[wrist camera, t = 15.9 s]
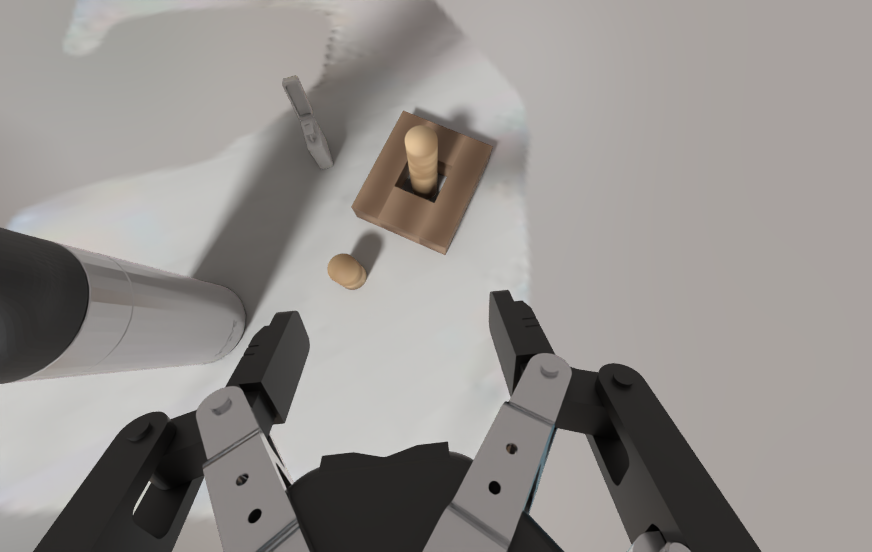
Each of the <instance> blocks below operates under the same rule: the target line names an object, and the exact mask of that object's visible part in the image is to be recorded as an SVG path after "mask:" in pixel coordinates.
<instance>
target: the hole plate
mask: <svg viewBox="0 0 872 552" xmlns="http://www.w3.org/2000/svg"><path fill="white" fill-rule="evenodd" d="M419 125H423V126H428V127H430V128H431V129H433V130H434V131H435V133H436V135H437V138H438V162H437V173H439V174H441V175H444V176H446V177H447V178H446V181H445V183H444V185H443V187H442V189H441V191H440V193H439V195H438V197H437V199H436V201H435V203H433V202H430V201H428V200H426V199H423V198H421V197H419V196H416V195H414V194H411V193H409V192H407V191H404V190H402V187H403V185H404V183H405V181H406V179H407V177H408V175H409V173H410V172H409V166H408V159H407V153H406V146H405V136H406V134H407V132H408V131H409V130H410V129H411V128H413V127H415V126H419ZM492 148H493V146H490V145H488V144H485V143H483V142H480V141H478V140H475V139H473V138H470V137H468V136H465V135H463V134H460V133H458V132H455V131H453V130H450V129H448V128H445V127H443V126H440V125H438V124H435V123H433V122H430V121H428V120H425V119H423V118H420V117H418V116H415V115H413V114H410V113H408V112H405V111H403V112H402V114H401V116H400V118H399V119H398V121H397V123H396V125H395V127H394V129H393V131H392V132H391V134H390V136H389V138H388V140H387V142H386V143H385V145H384V147H383V149H382V151H381V153H380V155H379V156H378V158H377V160H376V162H375V164H374V166H373V168H372V169H371V171H370V173H369V175H368V177H367V179H366V181H365V182H364V184H363V186H362V188H361V190H360V192H359V194H358V195H357V197H356V199H355V201H354V203H353V205H352V209H353V211H354V212H355V214H356V215H357V217H359V218H361V219H364V220H366V221H368V222H370V223H373V224H375V225H377V226H380V227H382V228H384V229H386V230H389V231H391V232H393V233H396V234H398V235H400V236H403V237H405V238H407V239H409V240H412V241H414V242H416V243H419V244H421V245H423V246H426V247H428V248H430V249H432V250H435V251H437V252H439V253H442V254H444V255H445V254H446V252H447V250H448V248H449V246H450V243H451V241H452V239H453V237H454V235H455V233H456V230H457V228H458V226H459V224H460V222H461V219H462V217H463V215H464V213H465V211H466V209H467V206H468V204H469V202H470V200H471V198H472V196H473V193H474V191H475V189H476V187H477V185H478V183H479V180H480V178H481V176H482V174H483V172H484V170H485V167H486V165H487V163H488V161H489V158H490V155H491V151H492Z"/></svg>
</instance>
